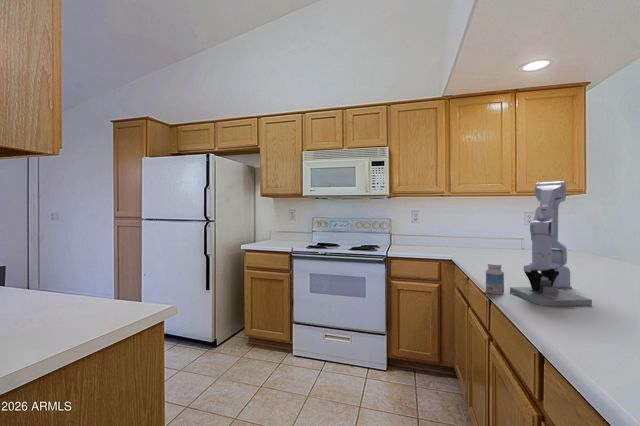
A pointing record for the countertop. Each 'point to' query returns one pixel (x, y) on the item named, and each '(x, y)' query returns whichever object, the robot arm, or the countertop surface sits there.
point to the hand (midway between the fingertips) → (541, 290)
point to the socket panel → (544, 301)
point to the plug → (543, 284)
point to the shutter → (555, 294)
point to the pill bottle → (494, 279)
